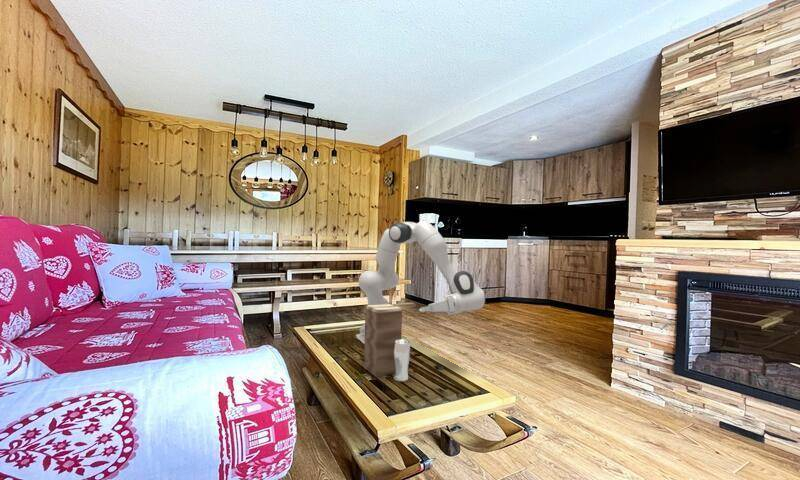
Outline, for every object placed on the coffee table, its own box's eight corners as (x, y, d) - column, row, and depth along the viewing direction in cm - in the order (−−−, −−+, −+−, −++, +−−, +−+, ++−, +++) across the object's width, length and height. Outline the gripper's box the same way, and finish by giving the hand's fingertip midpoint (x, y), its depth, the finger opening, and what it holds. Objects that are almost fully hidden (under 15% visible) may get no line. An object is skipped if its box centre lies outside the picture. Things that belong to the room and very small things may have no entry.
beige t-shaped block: (366, 308, 149) (366, 304, 149) (406, 304, 160) (406, 301, 160) (378, 313, 140) (378, 309, 140) (420, 308, 151) (420, 305, 151)
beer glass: (409, 375, 141) (410, 339, 141) (408, 382, 134) (409, 344, 134) (393, 374, 142) (394, 338, 142) (391, 381, 135) (392, 343, 135)
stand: (363, 367, 149) (365, 308, 149) (387, 363, 155) (389, 306, 155) (375, 376, 139) (377, 313, 139) (400, 371, 146) (402, 310, 146)
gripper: (445, 298, 165) (417, 303, 165) (451, 296, 145) (419, 302, 145) (448, 311, 164) (420, 316, 163) (454, 311, 144) (422, 317, 143)
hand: (420, 310), depth 154 cm, fingers open, 8 cm apart
